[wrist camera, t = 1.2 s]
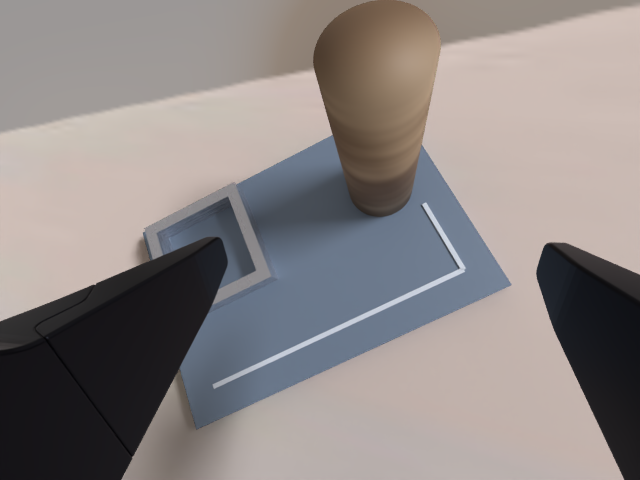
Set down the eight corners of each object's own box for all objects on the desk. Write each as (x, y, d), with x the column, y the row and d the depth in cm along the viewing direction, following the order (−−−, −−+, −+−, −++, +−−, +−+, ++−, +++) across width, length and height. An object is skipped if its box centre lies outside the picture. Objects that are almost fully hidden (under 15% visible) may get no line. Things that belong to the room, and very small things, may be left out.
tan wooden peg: (424, 198, 22) (466, 64, 10) (365, 227, 22) (344, 126, 11) (394, 148, 23) (401, -20, 12) (339, 176, 24) (295, 38, 12)
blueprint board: (505, 286, 20) (512, 284, 19) (204, 424, 22) (195, 430, 21) (394, 111, 25) (395, 102, 24) (151, 235, 27) (141, 232, 26)
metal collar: (278, 279, 23) (271, 276, 21) (184, 325, 23) (171, 325, 22) (243, 190, 25) (234, 182, 23) (158, 233, 25) (144, 228, 24)
